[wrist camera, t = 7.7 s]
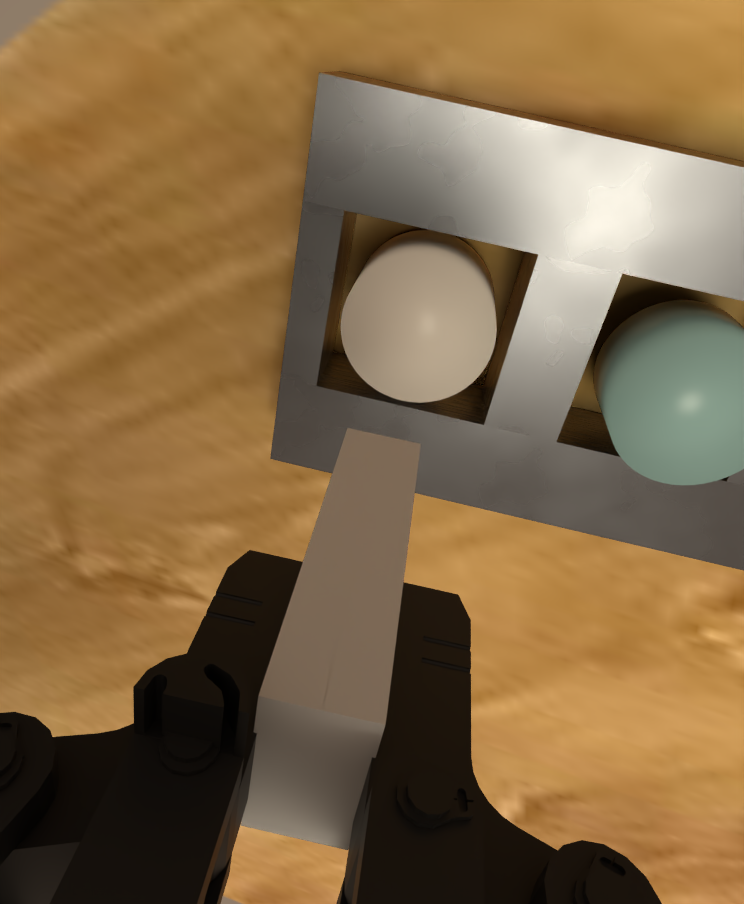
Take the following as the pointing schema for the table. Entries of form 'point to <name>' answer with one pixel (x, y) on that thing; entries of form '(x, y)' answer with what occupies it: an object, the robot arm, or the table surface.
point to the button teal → (675, 392)
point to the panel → (511, 301)
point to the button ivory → (420, 317)
